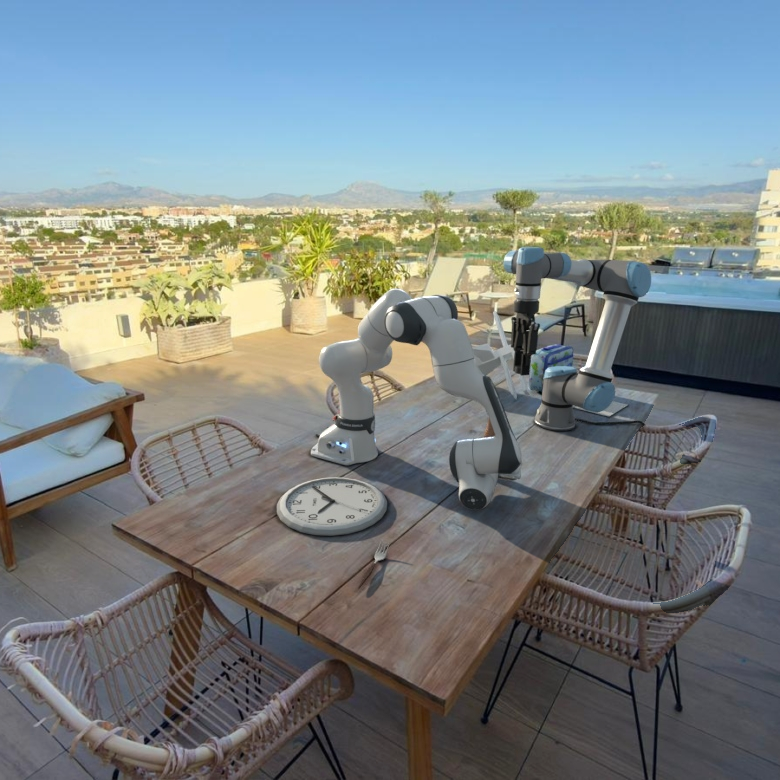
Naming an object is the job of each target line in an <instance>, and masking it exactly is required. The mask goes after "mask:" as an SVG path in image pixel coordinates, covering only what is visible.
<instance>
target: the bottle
mask: <svg viewBox="0 0 780 780" xmlns="http://www.w3.org/2000/svg"><path fill="white" fill-rule="evenodd" d="M493 436H495V433H494V430H493V427H492V425H491V422H490V419H489V417H487V425H486V428H485V430H484V433H483V438H484V437H493Z"/></svg>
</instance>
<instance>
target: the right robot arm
mask: <svg viewBox="0 0 780 780" xmlns="http://www.w3.org/2000/svg"><path fill="white" fill-rule="evenodd" d="M502 264H503V269H504V270H505V272H507V273H508V274H513V275H515V288H514V298H515V299H514V300H513V312H514V313H516V315H515V316H512V317H511V318H510V320H511V335H510V344H511V347H512V348H513V349H514V351H515V353H514V360H513V367H512V368H513V369H512V372H514V373H515V366H516V365H521V373H520V375H521V376H523V375H524V376H530V364H531V358H532V355H535V354H536V350H537V347H538V337H539V330H540V328H541V324H540V323H536V318H535V317H536V316H535V315H536V314H538V313H539V311H540V300H539V299H540V298H541V288H542V279H550V280H556V281H564V282H568V283H572V284H573V285H574V286H577V287H583V288H586V289H589V290H593V291H597V292H600V293H603V294H602V297H603V299H604V301H605V302H604V306H603V308H602V312H601V315H600V318H599V321H598V323H597V324H598V325H597V328H596V331H595V334H594V337H593V340H592V343H591V346H590V350H589V353H588V356H587V360H586V362H585V365H584V366H583V367H581V368H580V369H579V370H578V368H577V367H575V366H572V367H570V366H555V367H549V368H547V369H546V370H545V375H544V378H543V379H544V380H543V391H542V392H541V402H540V405H539V407H538V408H537V410H536V413H535V417H534V424H535V425H536V426H537V427H539V428H542V429H544V430H549V431H556V432H567V431H572V430H574V429H575V428H576V422H579V423H585V424H589V425H597V426H598V425H600V426H601V425H624V424H625V425H627V424H629V425H630V424H631V425H632V424H640V425H642V426H646V423H644V421H642V420H628V421H627V420H623V421H590V420H585V419H581V418H575V417H576V416H575V413H574V407H576V406H577V407H580V408H583V409H585V410H588V411H592V412H601V411H603V410H605V409H606V408H607V407H608V406H609V405H610V404H611V403H612V401H614V398H615V396H616V386H615V384H613V383H612V381H613V375H612V374H611V370H612V367H613V364H614V360H615V358H616V355H617V351H618V349H619V345H620V342H621V339H622V337H623V333H624V330H625V326H626V323H627V320H628V317H629V314H630V311H631V309H632V307H633V306H635V305H637V304H638V301H639V298H643V297H645V296H646V295H647V294H648V293H649V291H650V289H651V286H652V273H651V270H650V268H649V266H648V264H646V263H644V262H642V261H636V260H623V259H622V260H619V259H607V258H606V259H586V258H581V259H578V260H574V259H572V258H571V257H570V255H569V254H567V253H566V252H560V251H559V252H558V251H556V252H545V250H544V248H543V247H541V246H522V247H520V248H519V249H517V250H510V251H508V252H507V253H506V254H505V255H504V257H503V263H502ZM573 406H574V407H573ZM588 411H587V412H588ZM592 412H591V413H592Z"/></svg>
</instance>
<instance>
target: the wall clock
mask: <svg viewBox="0 0 780 780" xmlns="http://www.w3.org/2000/svg"><path fill="white" fill-rule="evenodd" d="M387 509H388V500H387V498H386V496H385V494H384V493H383V492H382V491H381V490H380V489H379V488H377V487H376V486H374V485H372V484H371V483H369V482H365V481H362V480H359V479H355V478H349V477H338V476H337V477H335V476H333V477H332V476H331V477H322V478H317V479H312V480H307V481H305V482H302V483H299V484H297V485H295V486H293V487H292V488H290V489H288V490H287V491H286V492H285V493H284V494H283V495H281V496H280V498H279V499H278V502H277V503H276V515H277V517H278V518H279V520H280V521H281V522H282V523H283V524H285V525H286V526H287V527H288V528H290V529H293V530H295V531H297V532H299V533H303V534H308V535H312V536H327V537H328V536H329V537H331V536H332V537H333V536H342V535H350V534H352V533H356V532H361V531H363V530H366V529H368V528H369V527H372V526H373V525H375V524H376V523H378V522H379V521H380V520H381V519H382V518H383V517H384V516H385V514H386V512H387Z"/></svg>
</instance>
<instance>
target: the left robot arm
mask: <svg viewBox="0 0 780 780" xmlns="http://www.w3.org/2000/svg"><path fill="white" fill-rule="evenodd" d="M458 317H459V311H458V306H457V305H456V302H455V301H454V300H453V299H452V298H451V297H450V296H446V295H444V294H443V295H442V294H433V295H427V296H418V297H416V298H412V296H411V295H410V294H409V293H408V292H406V291H405V290H403V289H400V288H392V289H389V290H388V291H386V292H385V293H384V294H382V295H381V296H380V297H379V298H378V299H377V300H376V301H375V302H374V303H373V304H372V306H371V307H370V308H369V310H368V311H367V313H366V314H365V315H364V316H363V318H362V319H361V321H359V324H358V326H357V337H358V338H354V339H350V340H343V341H337V342H334V343H331V344H328V345H326V346H324V347H322V348H321V350H320V353H319V356H318V365H319V368H320V370H321V371H322V373H323V374H324V375H325V376H326V377H327V378H329V379H330V380H331V381H332V382H333V383H334V384H335V386H336V389H337V392H338V402H339V410H338V411H337V413H336V414H335V415H334V416H333V417H332V422H334V423H333V424H331V425H330V426H327V427H326V428H325V430H323V431H322V432H321V433H320V434H317V433H316V434H315V437H316V438H318V440H317V443H316V444H314V445H313V447H312V448H311V449H310V456H311V457H314V458H318V459H322V460H325V461H329V462H333V463H336V464H339V465H344V466H351V465H354V464H361V463H367V462H370V461H373V460H375V459H376V458H377V457H378V455H379V451H378V448H377V443H376V442H377V441H376V437H375V430H376V414H375V412H374V409H375V408H374V404H375V400H374V399H375V396H374V392H373V389H372V388H371V387H369V385H367V384H364V383H362V379H361V378H362V377H361V375H362V374H368V373H373V372H376V371H379V370H381V369H383V368H386V367H387V366H389V365H390V364H391V362H392V360H393V348H392V346H391V345H392V343H393V342H394V341H395V342H397V343H402V344H409V345H413V346H419V345H420V344H421V343H423V344H425V346H426V347H427V349H428V350H429V354H430V360H431V365H432V371H433V376H434V379H435V381H436V384H437V385H438V386H439V388H440V389H441V390H442V391H444V392H446V393H448V394H449V395H451V396H455V397H459V398H463V399H468V400H471V401H474V402H476V403H478V404H480V405H481V406H482V407H483V408H484V410H485V412H486V414H487V416H488V417H489V419H490V422H491V425H492V427H493V430H494V433H495V436H493V437H484V436H483V437H475V438H474V437H473V438H464V439H458V440H457V441H455V442H454V444H453V445H452V447H451V449H450V452H449V456H448V457H449V458H448V460H449V461H448V463H449V464H448V465H449V468H450V469H449V470H450V471H451V475H452V480H453V481H456V482H457V483H458V484H459V485H458V500H459V502H460V504H461V505H462V506H463V507H464V508H466V509H468V510H470V511H479V510H483V509H485V508H486V507H487V506H488V505H489V503H490V502H491V500H492V498H493V496H494V493H495V488H496V486H497V484H498V480H503V481H510V482H515V481H517V480H520V479H521V478H522V466H523V462H522V459H523V457H522V456H523V455H522V449H521V447H520V444H519V443H518V440H517V438H516V436H515V434H514V432H513V429H512V426H511V424H510V421H509V418H508V416H507V413H506V411H505V407H504V405H503V402H502V399H501V397H500V394H499V392H498V390H497V387H496V385H495V384H494V382H493V379H492V378H491V377H490V376H488V375H486V376H485V375H483V374H482V373H481V371H480V370H479V368H478V367H477V365H476V362H475V358H474V354H473V349H472V347H473V346H472V345H473V344H472V342H471V339H470V336H469V333H468V331H467V328H466V326H465V324H464V323H463V322H462V321H461V320H458ZM488 417H487V418H488Z"/></svg>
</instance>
